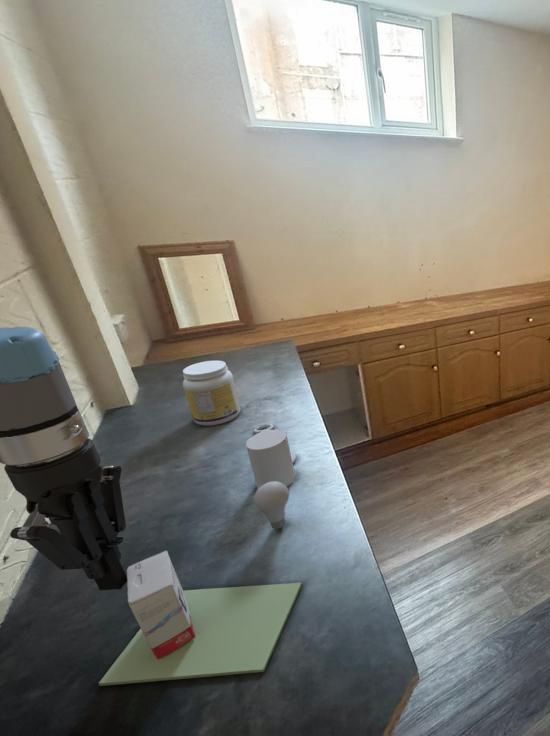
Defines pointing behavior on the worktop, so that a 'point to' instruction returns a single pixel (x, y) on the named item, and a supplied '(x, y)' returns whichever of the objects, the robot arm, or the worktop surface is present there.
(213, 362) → the supplement tub
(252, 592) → the mat
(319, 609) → the worktop surface
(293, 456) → the wrench
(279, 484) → the lightbulb
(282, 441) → the cup
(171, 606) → the ink box
